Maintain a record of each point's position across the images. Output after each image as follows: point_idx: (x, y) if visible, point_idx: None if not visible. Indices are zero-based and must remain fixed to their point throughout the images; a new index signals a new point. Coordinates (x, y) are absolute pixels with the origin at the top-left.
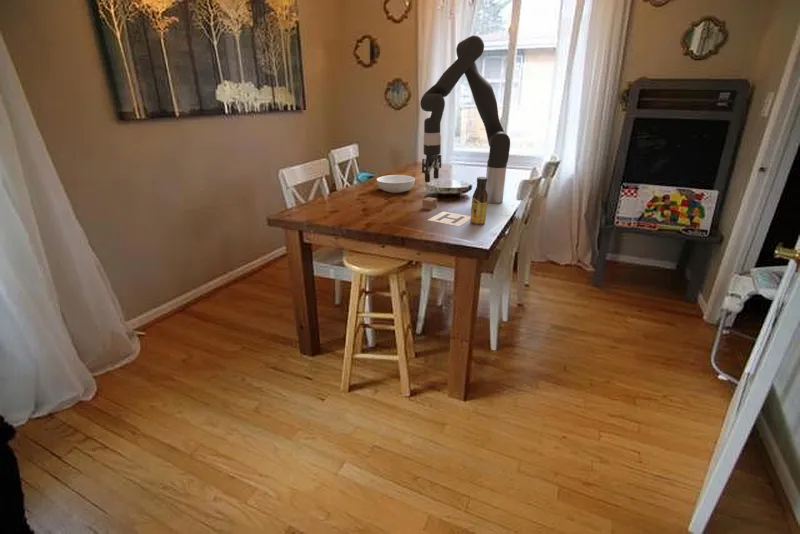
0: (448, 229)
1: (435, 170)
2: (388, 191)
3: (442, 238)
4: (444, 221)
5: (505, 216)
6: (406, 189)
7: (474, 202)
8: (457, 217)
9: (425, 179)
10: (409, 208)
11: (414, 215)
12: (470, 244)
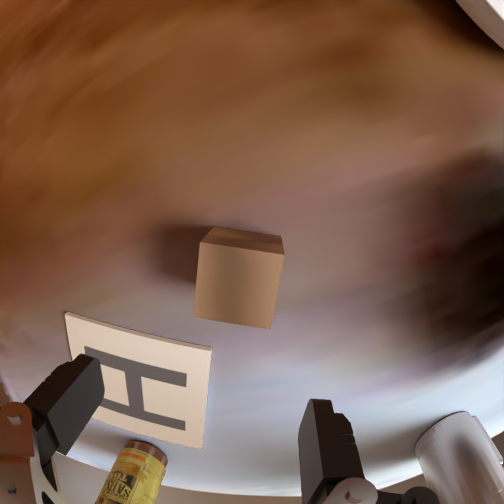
0: None
1: (312, 492)
2: None
3: (9, 374)
4: None
5: (271, 493)
6: (491, 38)
7: (97, 498)
8: (160, 410)
9: (55, 376)
10: (204, 142)
11: (99, 228)
12: None
